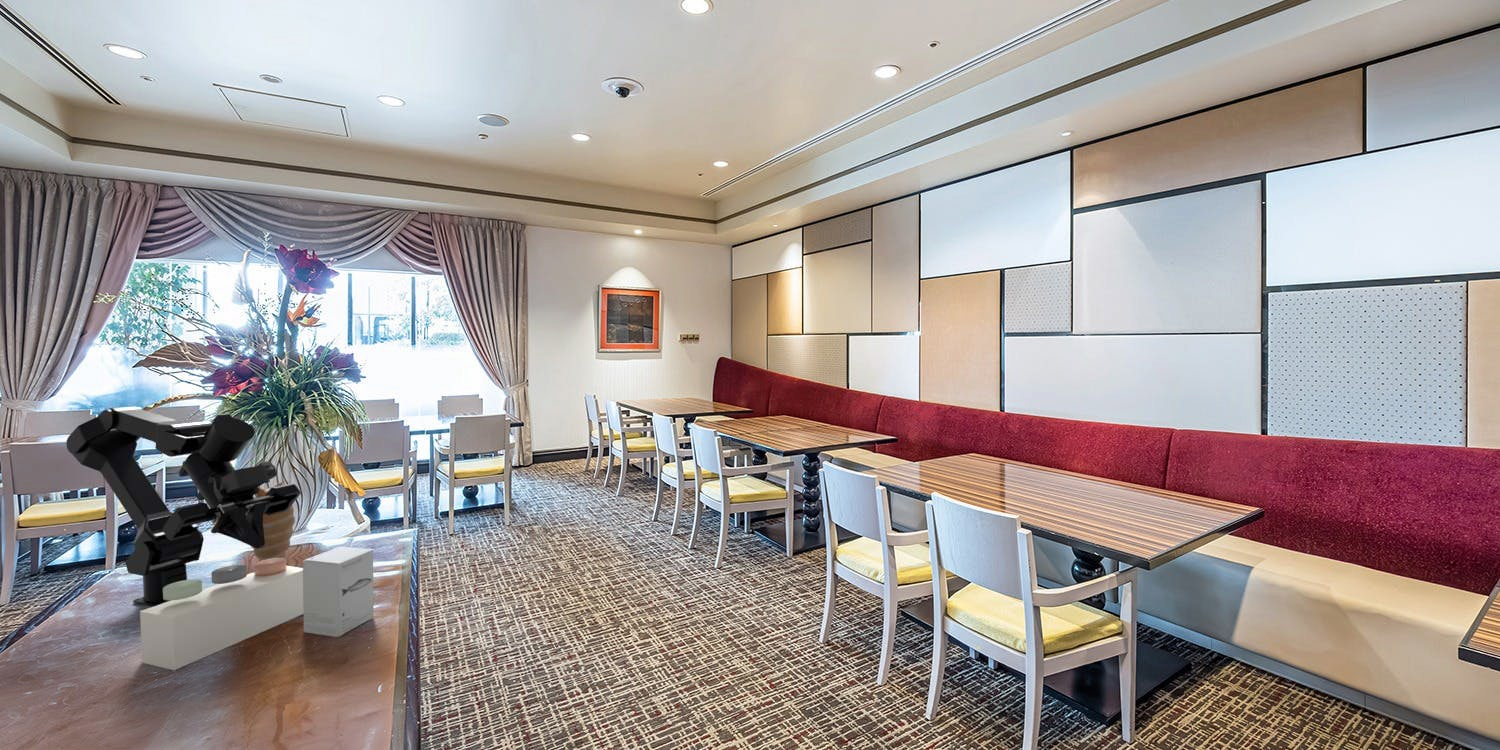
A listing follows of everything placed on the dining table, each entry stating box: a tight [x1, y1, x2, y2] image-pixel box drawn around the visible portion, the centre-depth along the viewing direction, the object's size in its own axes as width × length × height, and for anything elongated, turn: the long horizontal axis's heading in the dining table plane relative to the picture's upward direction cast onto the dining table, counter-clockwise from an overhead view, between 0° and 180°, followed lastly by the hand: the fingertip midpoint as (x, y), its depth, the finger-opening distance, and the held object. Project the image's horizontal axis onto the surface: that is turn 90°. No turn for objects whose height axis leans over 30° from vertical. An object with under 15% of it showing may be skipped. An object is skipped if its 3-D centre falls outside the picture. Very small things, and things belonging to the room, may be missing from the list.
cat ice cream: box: [250, 482, 296, 562], centre depth 126 cm, size 9×8×18 cm
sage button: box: [163, 578, 203, 600], centre depth 92 cm, size 4×4×2 cm
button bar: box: [139, 565, 304, 671], centre depth 98 cm, size 7×20×8 cm, turn 164°
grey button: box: [210, 564, 248, 585], centre depth 98 cm, size 4×4×2 cm
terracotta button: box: [253, 557, 287, 575], centre depth 105 cm, size 4×4×2 cm
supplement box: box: [302, 546, 375, 638], centre depth 102 cm, size 7×7×13 cm
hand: (261, 546), depth 103 cm, fingers closed
